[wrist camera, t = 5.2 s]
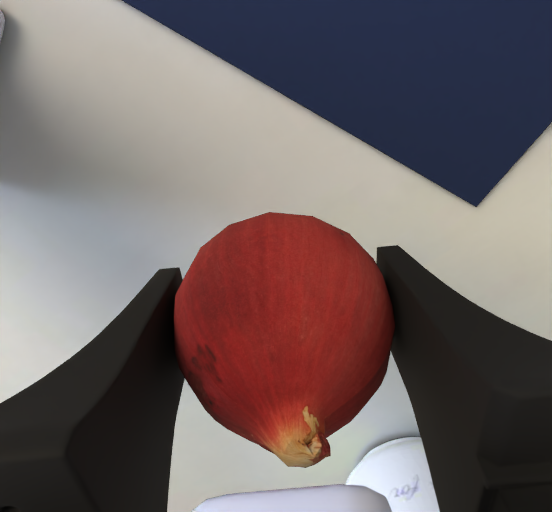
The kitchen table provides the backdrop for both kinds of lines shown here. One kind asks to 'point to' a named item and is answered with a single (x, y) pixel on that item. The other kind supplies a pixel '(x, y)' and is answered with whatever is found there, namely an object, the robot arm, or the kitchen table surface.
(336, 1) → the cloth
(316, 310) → the onion
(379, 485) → the teacup
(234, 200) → the kitchen table surface
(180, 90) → the kitchen table surface
